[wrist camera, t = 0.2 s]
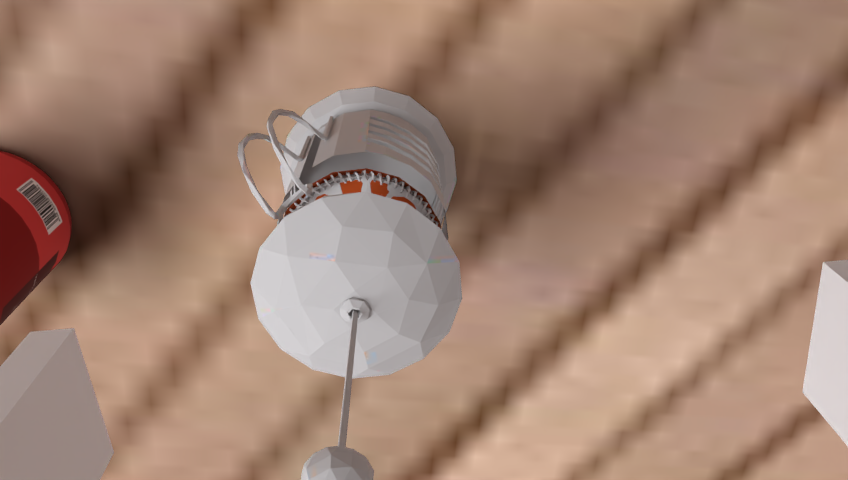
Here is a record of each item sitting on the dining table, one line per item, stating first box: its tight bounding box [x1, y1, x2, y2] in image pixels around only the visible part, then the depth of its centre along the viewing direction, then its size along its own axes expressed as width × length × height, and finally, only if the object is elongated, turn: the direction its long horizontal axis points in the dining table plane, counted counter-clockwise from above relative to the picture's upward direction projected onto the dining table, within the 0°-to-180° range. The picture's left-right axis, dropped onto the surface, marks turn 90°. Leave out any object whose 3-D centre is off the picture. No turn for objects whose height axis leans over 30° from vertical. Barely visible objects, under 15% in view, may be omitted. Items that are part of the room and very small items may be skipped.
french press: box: [238, 87, 462, 480], centre depth 29 cm, size 10×12×25 cm
